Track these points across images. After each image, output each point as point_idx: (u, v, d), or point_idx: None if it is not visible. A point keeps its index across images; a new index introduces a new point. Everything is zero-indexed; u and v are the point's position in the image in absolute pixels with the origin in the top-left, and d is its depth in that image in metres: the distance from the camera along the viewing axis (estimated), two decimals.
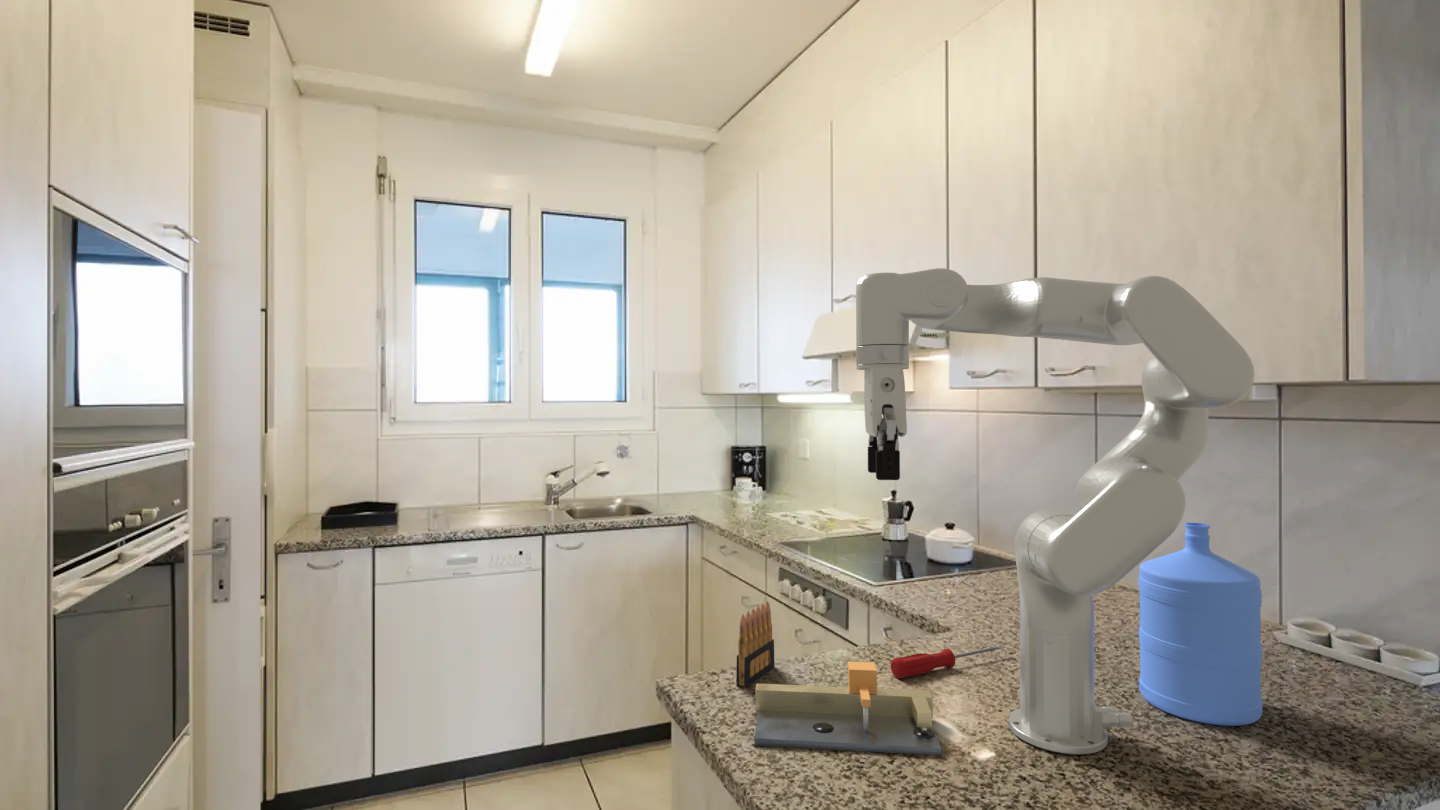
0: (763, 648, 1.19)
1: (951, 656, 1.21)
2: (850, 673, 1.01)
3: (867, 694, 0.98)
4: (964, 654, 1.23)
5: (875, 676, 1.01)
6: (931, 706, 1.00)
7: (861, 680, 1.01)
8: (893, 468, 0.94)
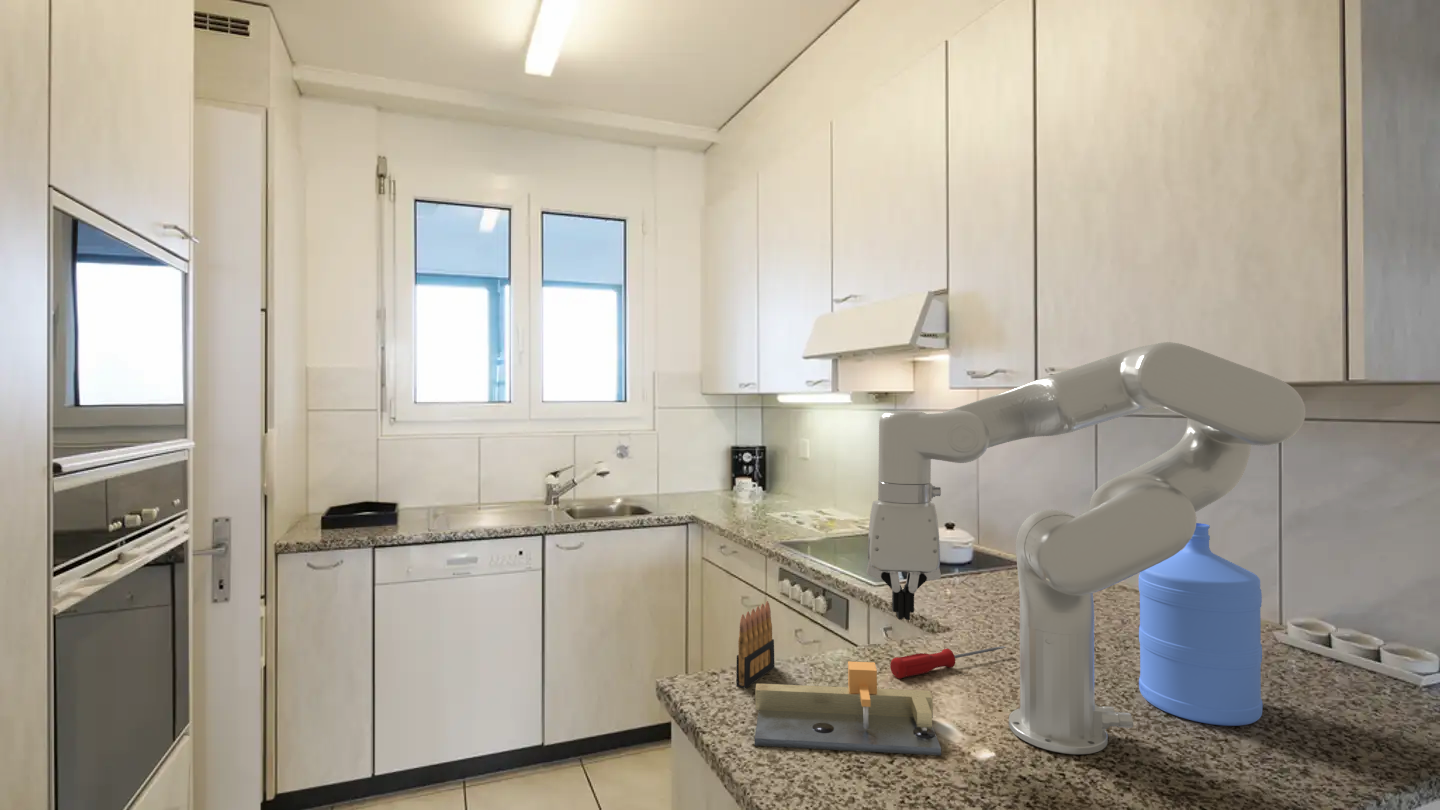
0: (763, 648, 1.19)
1: (951, 656, 1.21)
2: (850, 673, 1.01)
3: (867, 694, 0.98)
4: (964, 654, 1.23)
5: (875, 676, 1.01)
6: (931, 706, 1.00)
7: (861, 680, 1.01)
8: None
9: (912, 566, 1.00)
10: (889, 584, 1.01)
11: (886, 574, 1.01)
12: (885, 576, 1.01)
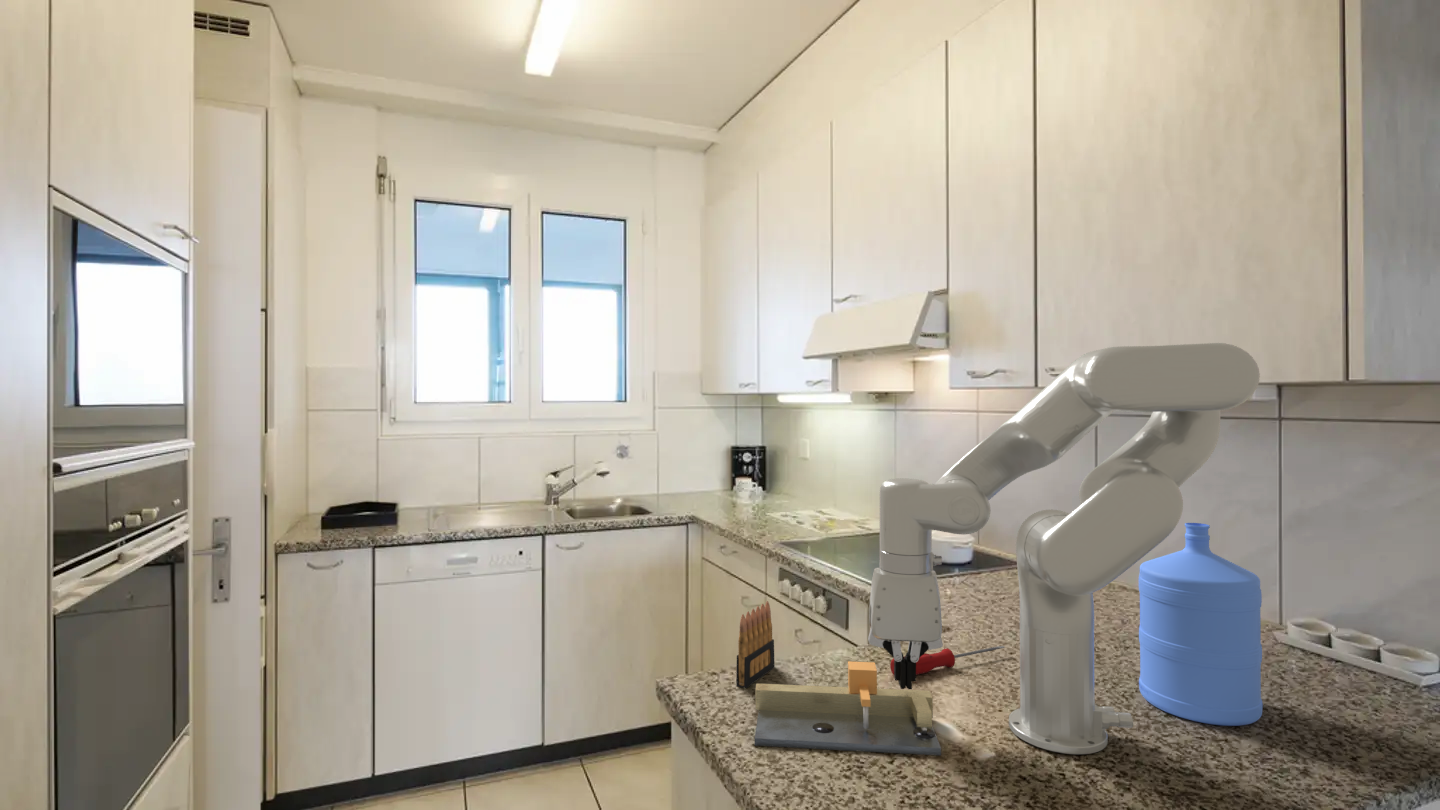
0: (763, 648, 1.19)
1: (951, 656, 1.21)
2: (850, 673, 1.01)
3: (867, 694, 0.98)
4: (964, 654, 1.23)
5: (875, 676, 1.01)
6: (931, 706, 1.00)
7: (861, 680, 1.01)
8: None
9: (914, 636, 1.00)
10: (891, 653, 1.01)
11: (888, 643, 1.01)
12: (887, 645, 1.01)
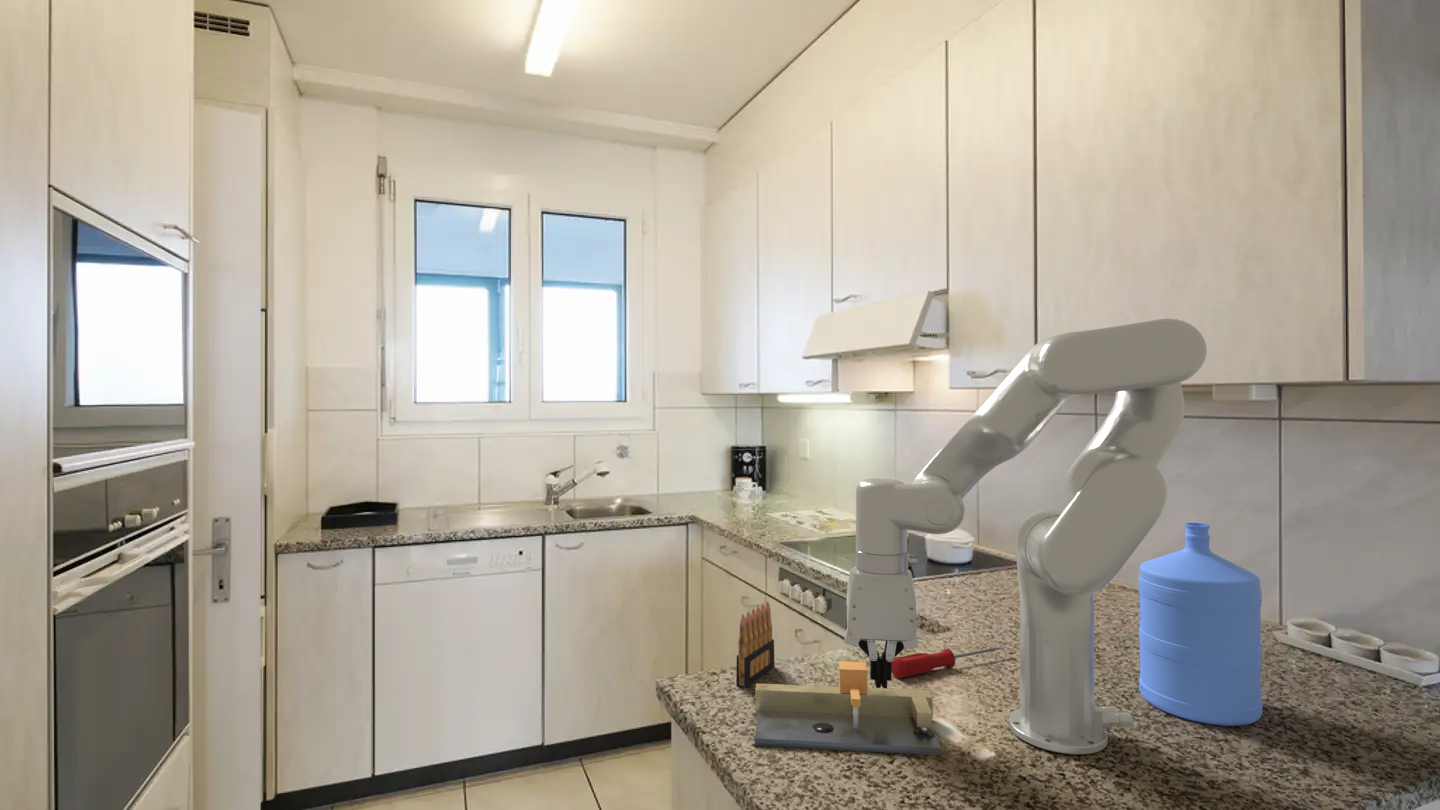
0: (763, 648, 1.19)
1: (951, 656, 1.21)
2: (841, 673, 1.01)
3: (857, 694, 0.98)
4: (964, 654, 1.23)
5: (865, 676, 1.01)
6: (931, 706, 1.00)
7: (852, 679, 1.01)
8: None
9: (889, 635, 1.00)
10: (867, 652, 1.02)
11: (864, 642, 1.02)
12: (863, 644, 1.02)
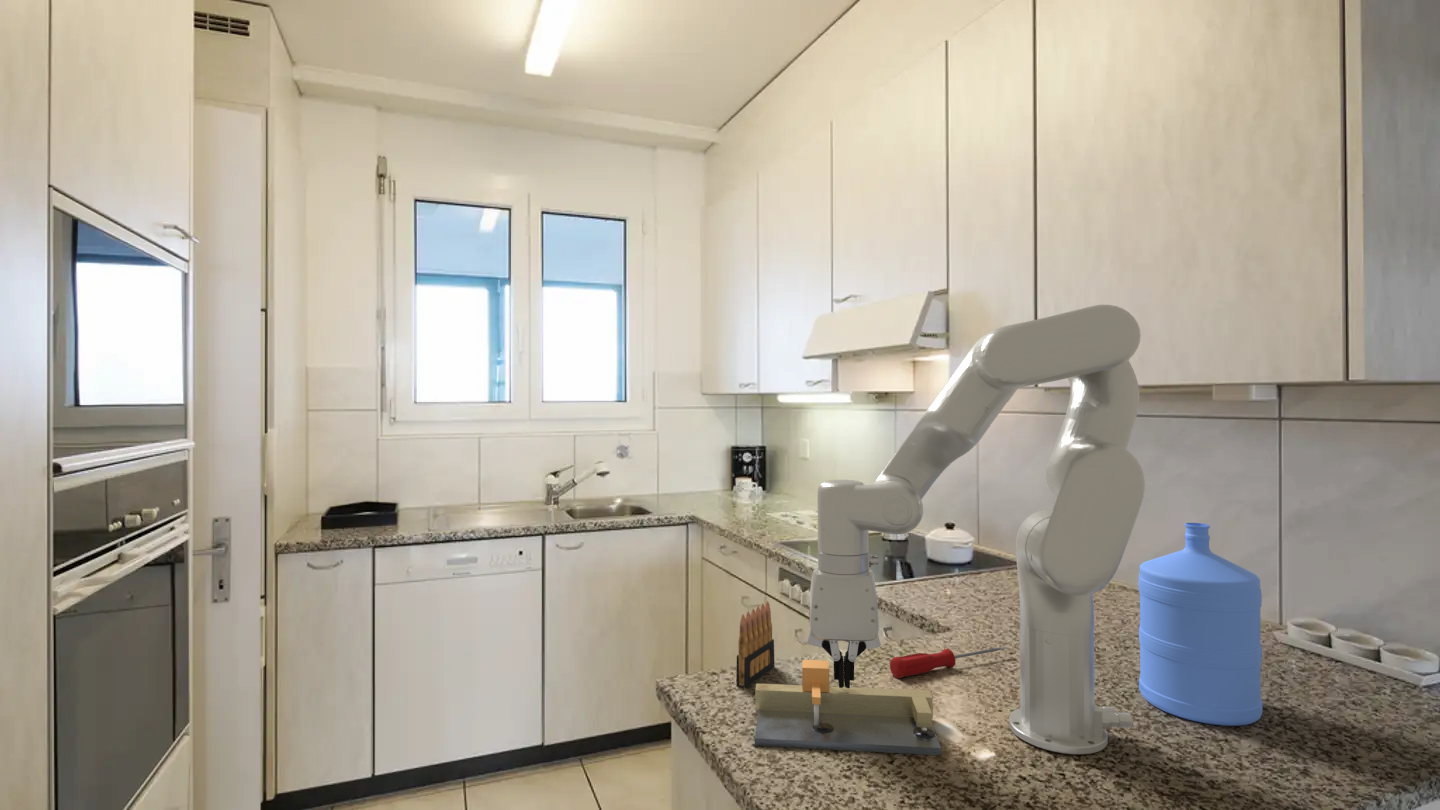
0: (763, 648, 1.19)
1: (951, 656, 1.21)
2: (803, 671, 1.02)
3: (818, 692, 0.99)
4: (965, 654, 1.23)
5: (828, 674, 1.02)
6: (931, 706, 1.00)
7: (814, 678, 1.02)
8: None
9: (851, 635, 1.01)
10: (829, 652, 1.02)
11: (826, 643, 1.02)
12: (825, 645, 1.02)
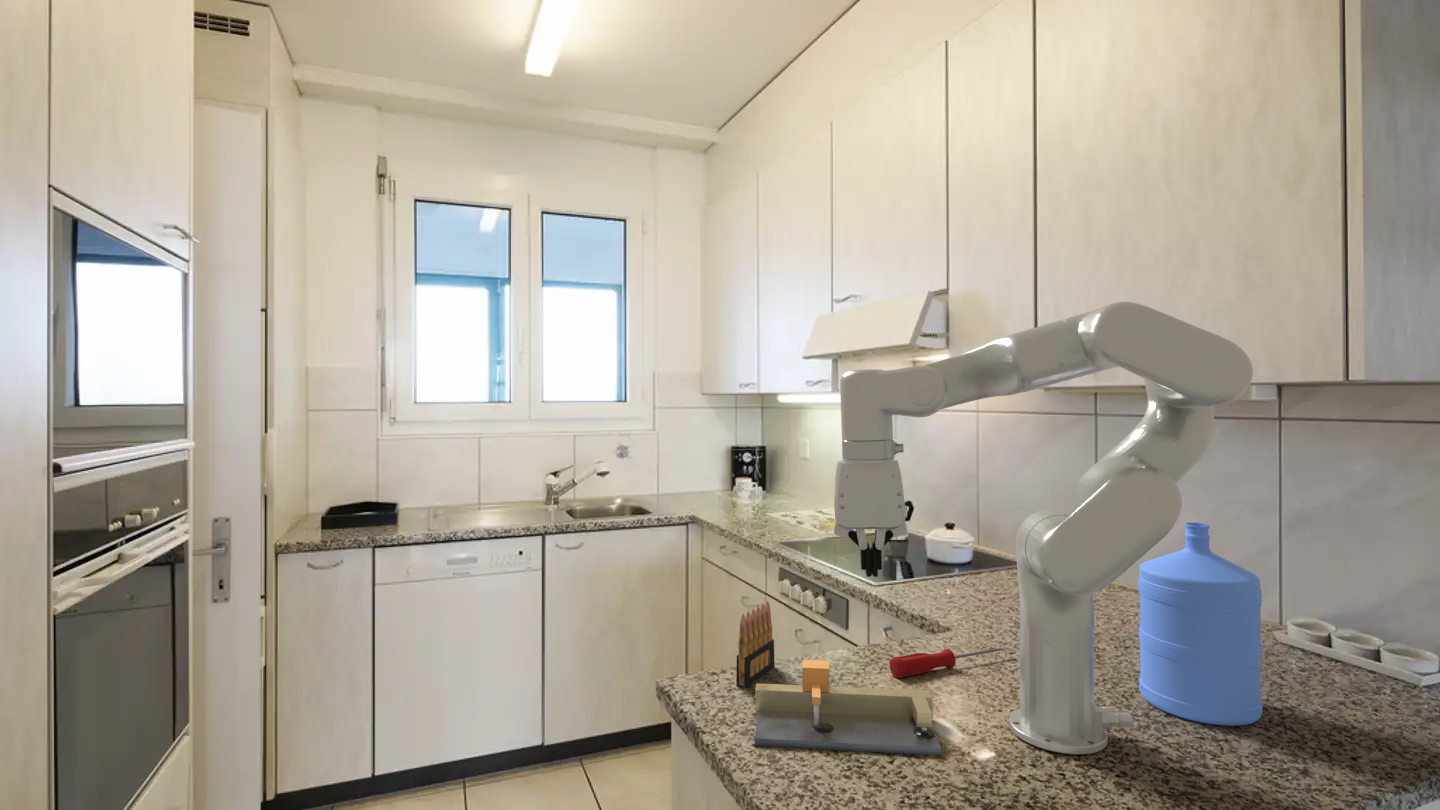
0: (763, 648, 1.19)
1: (951, 656, 1.21)
2: (803, 671, 1.02)
3: (818, 692, 0.99)
4: (965, 655, 1.23)
5: (828, 674, 1.02)
6: (931, 706, 1.00)
7: (814, 678, 1.02)
8: None
9: (878, 522, 1.00)
10: (856, 542, 1.02)
11: (853, 532, 1.02)
12: (852, 534, 1.02)
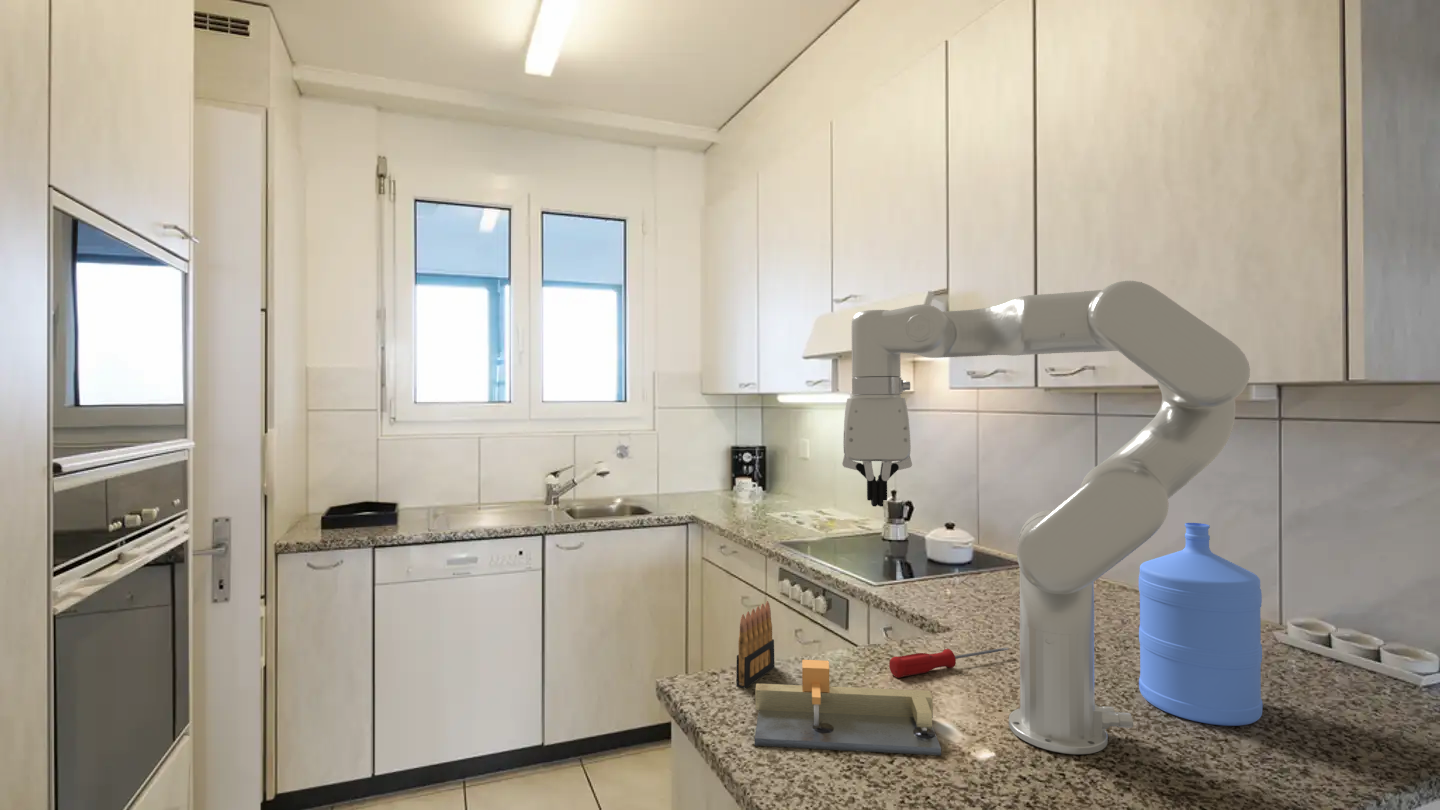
0: (763, 648, 1.19)
1: (951, 656, 1.21)
2: (803, 671, 1.02)
3: (818, 692, 0.99)
4: (966, 655, 1.23)
5: (828, 674, 1.02)
6: (931, 706, 1.00)
7: (814, 678, 1.02)
8: None
9: (884, 455, 1.06)
10: (863, 474, 1.08)
11: (860, 464, 1.08)
12: (859, 466, 1.08)
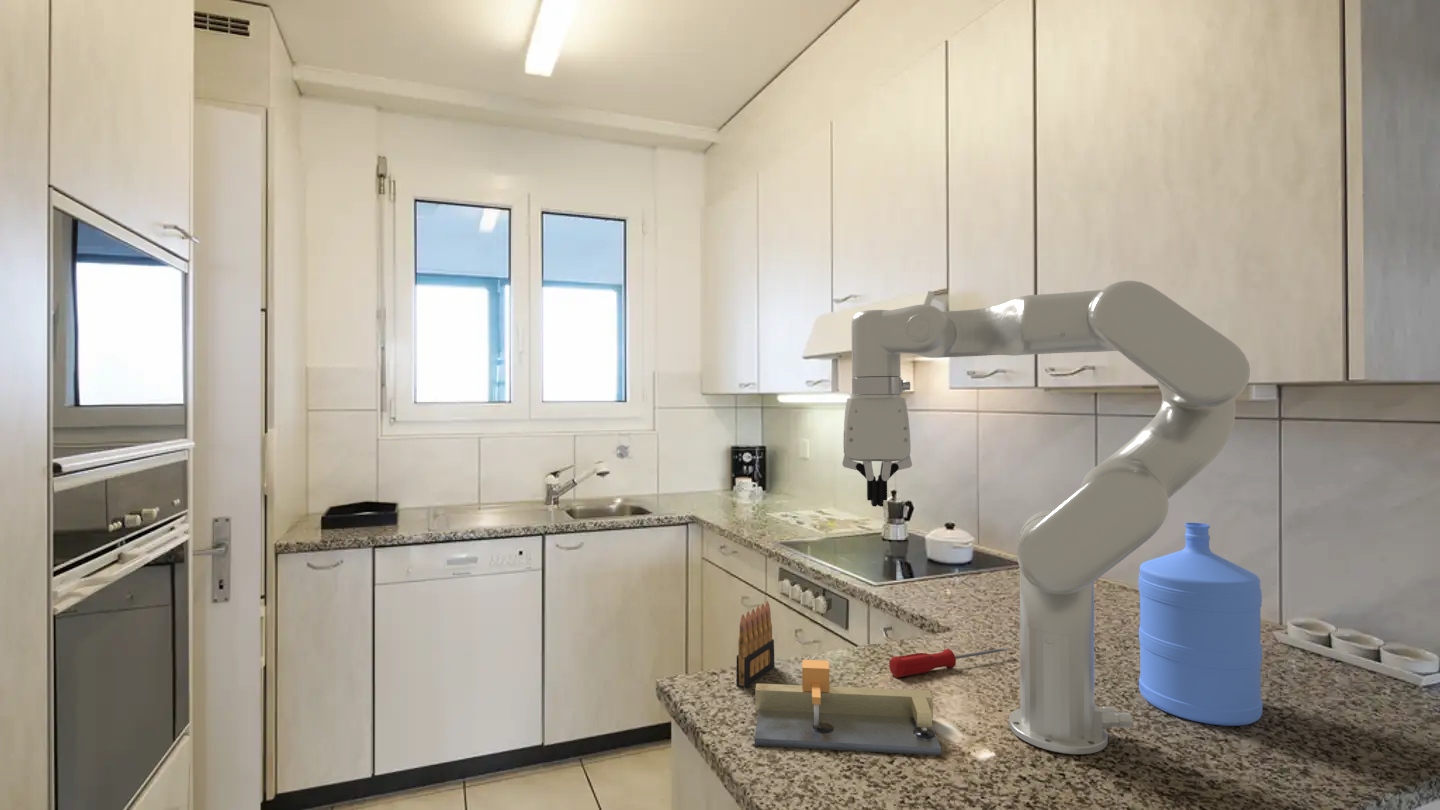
0: (763, 648, 1.19)
1: (951, 656, 1.20)
2: (803, 671, 1.02)
3: (818, 692, 0.99)
4: (966, 655, 1.23)
5: (828, 674, 1.02)
6: (931, 706, 1.00)
7: (814, 678, 1.02)
8: None
9: (884, 455, 1.06)
10: (863, 474, 1.08)
11: (860, 464, 1.08)
12: (859, 466, 1.08)
